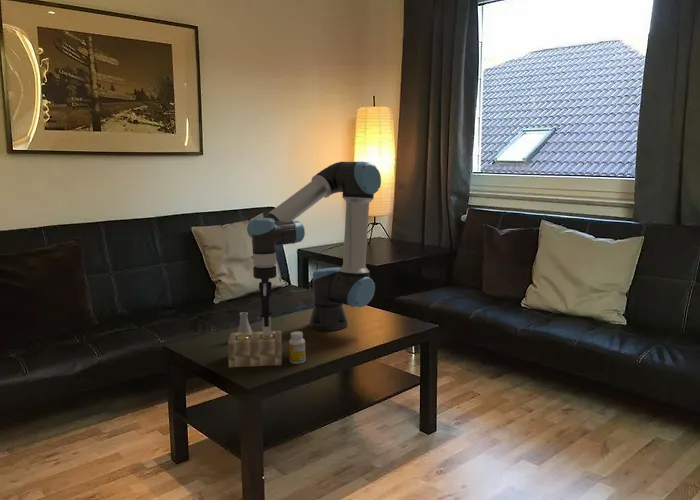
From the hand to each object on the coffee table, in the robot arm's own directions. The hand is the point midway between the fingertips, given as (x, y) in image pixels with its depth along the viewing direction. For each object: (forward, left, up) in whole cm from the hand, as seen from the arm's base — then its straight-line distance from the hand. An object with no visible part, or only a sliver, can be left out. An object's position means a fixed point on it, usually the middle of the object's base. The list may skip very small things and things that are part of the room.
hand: (267, 334), depth 207 cm
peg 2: (0, 0, -8) cm, 8 cm away
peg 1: (+8, 0, -8) cm, 12 cm away
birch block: (+4, 0, -9) cm, 9 cm away
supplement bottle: (-10, +3, -9) cm, 14 cm away
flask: (+9, -24, -9) cm, 27 cm away
